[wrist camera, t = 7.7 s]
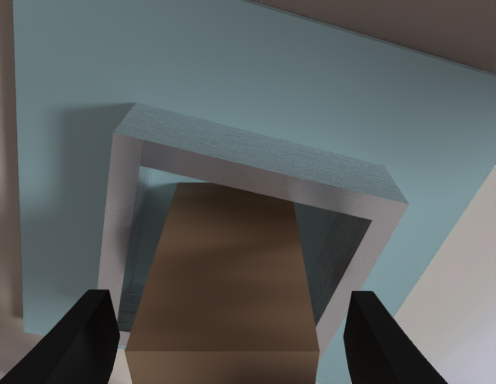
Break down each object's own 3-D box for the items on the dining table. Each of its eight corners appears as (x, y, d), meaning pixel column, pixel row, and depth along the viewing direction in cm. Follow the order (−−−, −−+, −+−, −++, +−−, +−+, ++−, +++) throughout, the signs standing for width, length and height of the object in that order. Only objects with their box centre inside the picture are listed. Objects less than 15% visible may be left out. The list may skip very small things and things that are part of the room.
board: (525, 82, 13) (544, 91, 12) (342, 369, 21) (346, 387, 20) (29, -67, 11) (10, -69, 10) (33, 315, 19) (23, 332, 18)
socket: (384, 165, 14) (409, 204, 12) (302, 327, 18) (309, 377, 16) (136, 102, 13) (113, 132, 10) (111, 291, 17) (91, 340, 15)
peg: (289, 182, 14) (319, 351, 8) (284, 267, 16) (305, 452, 10) (177, 182, 14) (124, 351, 8) (186, 267, 16) (150, 452, 10)
